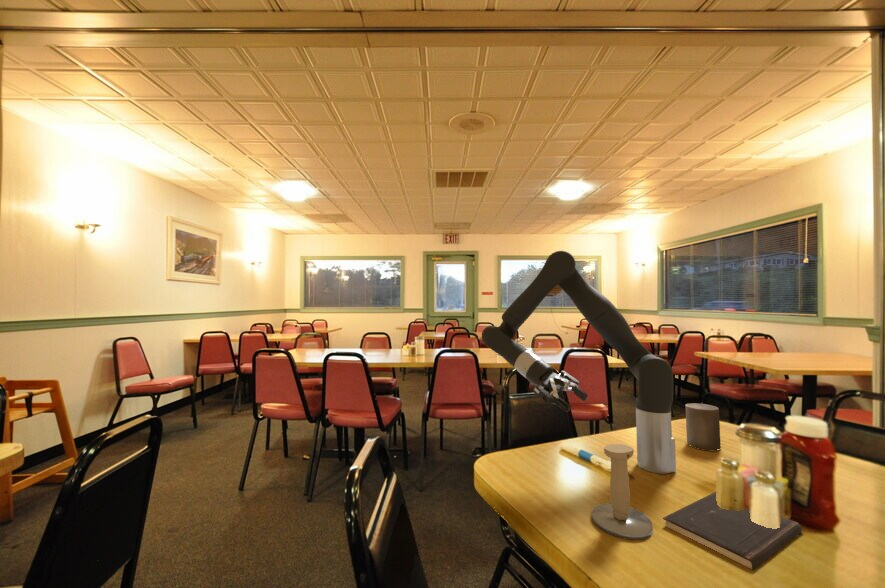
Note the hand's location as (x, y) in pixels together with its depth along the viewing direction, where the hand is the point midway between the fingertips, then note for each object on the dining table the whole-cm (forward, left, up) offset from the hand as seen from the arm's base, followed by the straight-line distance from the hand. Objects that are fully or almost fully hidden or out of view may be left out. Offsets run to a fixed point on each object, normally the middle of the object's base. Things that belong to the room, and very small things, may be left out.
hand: (578, 404), depth 101 cm
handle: (-4, +19, -20) cm, 28 cm away
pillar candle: (-50, -32, -21) cm, 63 cm away
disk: (-4, +19, -21) cm, 29 cm away
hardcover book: (-27, +19, -22) cm, 39 cm away
